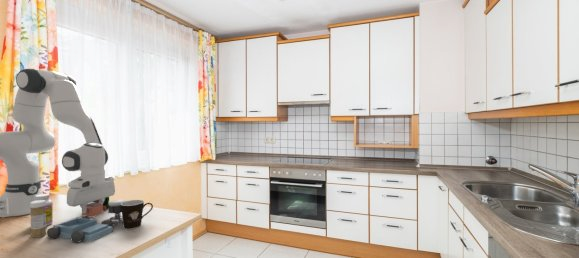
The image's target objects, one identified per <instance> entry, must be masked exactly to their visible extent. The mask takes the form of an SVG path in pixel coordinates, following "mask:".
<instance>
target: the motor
mask: <svg viewBox="0 0 579 258" xmlns="http://www.w3.org/2000/svg"><path fill="white" fill-rule="evenodd" d="M92 202H97V203H99V200H96V201H92ZM109 202H110V196H109V197H106V198H105V201H104V202H103V204H102V205H103V212H104V211H106V210H107V209H108V205H109Z"/></svg>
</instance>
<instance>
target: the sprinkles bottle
mask: <svg viewBox="0 0 579 258" xmlns="http://www.w3.org/2000/svg"><path fill="white" fill-rule="evenodd" d="M45 207H46V201H45V200H37V201H33V202H31V203H30V208H31V213H30V237H31V238H34V239H35V238H41V237H44V236H45V235H47V231H46V229H47V226H46V210H45Z"/></svg>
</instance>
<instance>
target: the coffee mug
mask: <svg viewBox="0 0 579 258" xmlns="http://www.w3.org/2000/svg"><path fill="white" fill-rule="evenodd" d="M147 205H150V206H151V208H150V209H149V210H148V211H147V212H146V213H144V214H143V211H144V209H145V207H146V206H147ZM153 208H154V205H153V204H152V203H151V202H146V203H145V201H144V200H143V199H132V200H131V199H130V200H126V201H125V202H123V203H121V210H122V212H121V215H122V217H123V223H122V224H123V228H124V229H125V230H131V229H136V228H138V227H141V225H142V220H143V218H144V217H145V216H147V215H148V214H149V213H150V212H151V211H152V210H153Z"/></svg>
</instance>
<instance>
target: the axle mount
mask: <svg viewBox="0 0 579 258" xmlns="http://www.w3.org/2000/svg"><path fill="white" fill-rule="evenodd" d="M109 219H110V220H112V222H113V226H114V225H120V224H121V225H122V224H123V217H122V212H120V213H114V216H111V217H109Z"/></svg>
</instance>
